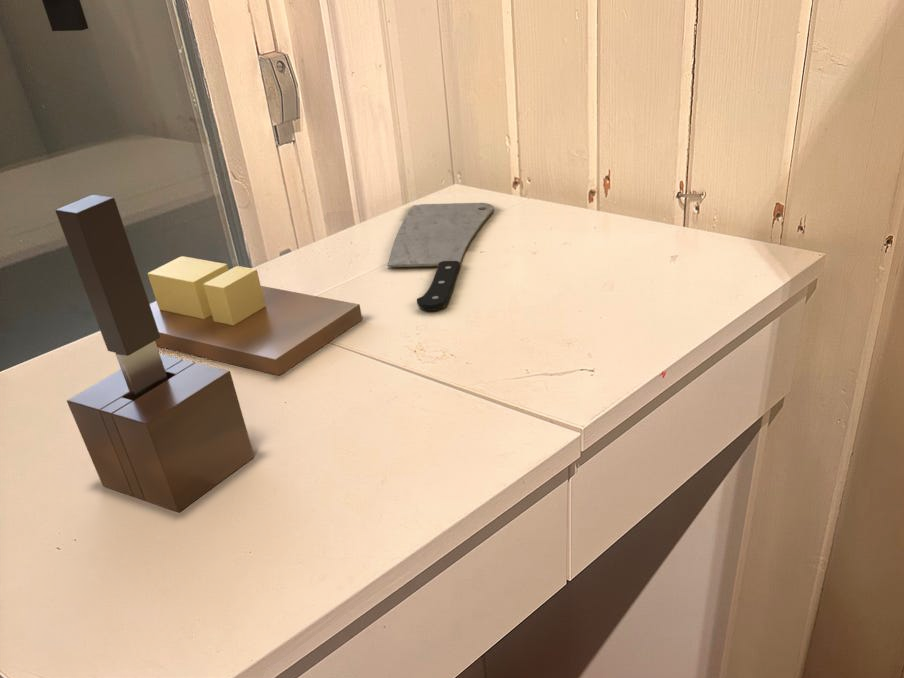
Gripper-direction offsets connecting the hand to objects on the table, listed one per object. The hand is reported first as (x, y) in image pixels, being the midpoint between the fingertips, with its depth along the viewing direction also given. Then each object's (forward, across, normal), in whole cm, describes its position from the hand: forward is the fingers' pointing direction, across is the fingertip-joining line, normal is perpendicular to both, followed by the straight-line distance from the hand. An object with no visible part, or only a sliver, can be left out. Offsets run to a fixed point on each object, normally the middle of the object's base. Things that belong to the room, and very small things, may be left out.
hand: (127, 11), depth 71 cm
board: (+25, -1, -4) cm, 25 cm away
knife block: (+25, -24, -12) cm, 37 cm away
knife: (+25, -24, -12) cm, 37 cm away
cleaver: (+25, +19, -15) cm, 35 cm away
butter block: (+23, 0, +1) cm, 23 cm away
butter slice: (+23, -1, -4) cm, 24 cm away
